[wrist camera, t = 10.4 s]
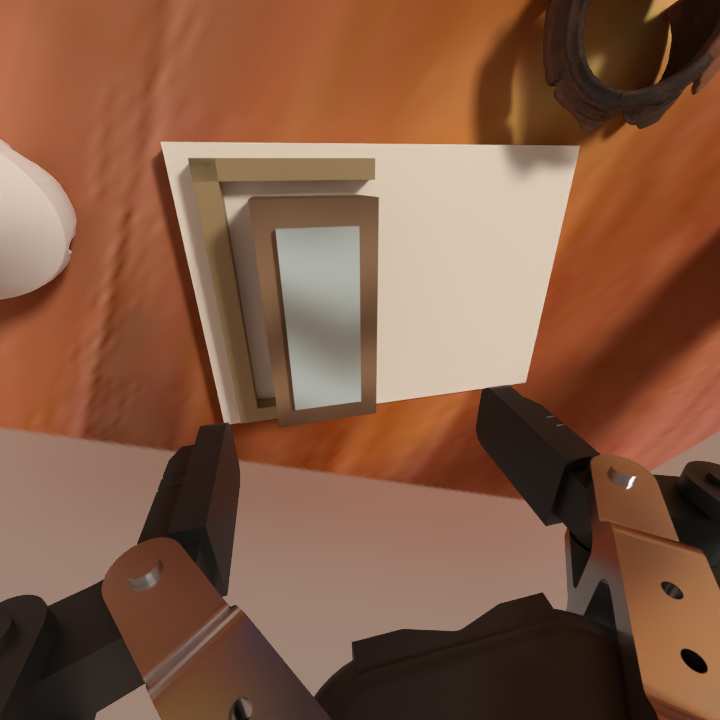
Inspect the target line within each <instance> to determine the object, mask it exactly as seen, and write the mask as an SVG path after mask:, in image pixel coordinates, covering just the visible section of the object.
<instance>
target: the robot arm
mask: <svg viewBox="0 0 720 720" xmlns="http://www.w3.org/2000/svg"><path fill="white" fill-rule="evenodd" d="M476 432H477V437H478V440H479V442H480V444H481V445H482V446H483V448H484V449H485V450H486V451H487V453H488V454H489V455H490V457H491V458H492V459H493V460H494V462H495V463H496V464H497V465H498V467H499V468H500V469H501V470H502V472H503V473H504V474H505V475H506V477H507V478H508V479H509V480H510V482H511V483H512V484H513V485H514V487H515V488H516V489H517V490H518V492H519V493H520V494H521V496H522V497H523V498H524V499H525V501H526V502H527V503H528V504H529V506H530V507H531V508H532V509H533V511H534V512H535V513H536V514H537V516H538V517H539V518H540V519H541V521H542V522H543V523H544V524H545V526H549V525H553V524H557V523H562V522H563V523H564V524H565V525H566V527H567V530H566V533H565V555H566V574H567V592H568V601H567V609H566V611H563V610H558V609H553V607H552V606H551V604H550V603H549V601H548V600H547V598H546V597H545V595H544V594H543V593H539V594H535V595H531V596H527V597H524V598H520V599H516V600H512V601H509V602H504V603H501V604H498V605H497V606H495V607H494V608H492V609H491V610H490V611H488V612H487V613H485V614H484V615H482V616H481V617H479V618H478V619H476V620H475V621H473V622H472V623H471V624H469V625H468V626H466V627H465V628H463V629H461V630H458V631H436V630H413V629H412V630H411V629H401V630H397V631H393V632H390V633H386V634H382V635H378V636H374V637H370V638H367V639H362V640H359V641H355V642H352V656H353V660H352V661H351V662H349V663H348V664H346V665H345V666H343V667H342V668H341V669H339V670H338V671H337V672H336V673H335V674H334V675H332V676H331V677H330V678H329V679H328V681H327V682H326V683H325V684H324V685H323V686H322V687H321V688H320V690H319V691H318V692H317V693H316V695H315V696H314V697H313V696H312V695H311V694H310V692H309V691H308V690H307V689H306V687H305V686H304V685H303V684H302V683H301V681H300V680H299V679H298V678H297V676H296V675H295V674H294V673H293V672H292V670H291V669H290V668H289V667H288V665H287V664H286V663H285V662H284V661H283V659H282V658H281V657H280V656H279V654H278V653H277V652H276V651H275V650H274V648H273V647H272V646H271V645H270V643H269V642H268V641H267V640H266V638H265V637H264V636H263V635H262V633H261V632H260V631H259V630H258V629H257V627H256V626H255V625H254V624H253V622H251V620H250V619H249V618H248V616H247V615H246V614H245V613H244V612H243V611H242V610H241V609H240V608H239V607H238V606H236V605H234V606H232V607H230V606H229V605H228V604H227V603H226V601H225V600H224V599H223V598H222V597H223V596H227V592H228V585H229V576H230V567H231V558H232V549H233V541H234V532H235V523H236V514H237V506H238V497H239V488H240V469H239V462H238V458H237V453H236V449H235V444H234V440H233V436H232V431H231V427H230V424H229V423H228V422H227V423H220V424H212V425H205V426H201V427H200V428H199V431H198V435H197V438H196V441H195V445H191V446H184V447H181V448H180V449H179V450H178V451H177V452H176V454H175V455H174V456H173V457H172V458H171V459H170V460H169V462H168V464H167V467H166V470H165V472H164V475H163V479H162V480H161V483H160V485H159V488H158V492H157V494H156V496H155V498H154V501H153V504H152V506H151V509H150V511H149V514H148V517H147V520H146V522H145V525H144V528H143V530H142V532H141V535H140V538H139V541H138V543H137V545H135V546H134V547H132V548H130V549H129V550H128V551H126V552H125V553H124V554H123V555H121V556H120V557H119V558H118V559H117V560H116V561H115V563H113V565H112V566H111V567H110V569H109V570H108V572H107V574H106V575H105V578H104V579H103V580H102V581H100V582H98V583H97V584H95V585H93V586H91V587H88V588H86V589H84V590H82V591H80V592H78V593H75V594H73V595H71V596H69V597H67V598H65V599H62V600H60V601H58V602H56V603H54V604H52V605H49V606H47V604H46V603H45V602H44V601H43V599H42V598H40V597H38V596H35V595H21V596H16V597H13V598H10V599H7V600H5V601H2V602H0V720H95V716H96V713H97V712H98V711H100V710H102V709H103V708H105V707H107V706H108V705H110V704H112V703H113V702H115V701H117V700H118V699H120V698H122V697H123V696H125V695H126V694H128V693H130V692H132V691H133V690H135V689H136V688H138V687H140V686H141V685H143V684H146V689H147V691H148V693H149V696H150V698H151V700H152V702H153V704H154V706H155V708H156V710H157V712H158V714H159V716H160V718H161V720H720V465H718V464H715V463H711V462H705V461H693V462H690V463H688V464H687V465H686V466H685V468H684V470H683V472H682V474H681V476H680V477H676V476H664V475H652V474H651V473H650V472H649V471H648V470H647V469H646V468H644V467H643V466H641V465H640V464H638V463H636V462H634V461H632V460H630V459H627V458H624V457H621V456H617V455H610V454H602V455H601V454H600V453H598V452H597V451H596V450H595V449H594V448H592V447H591V446H590V445H589V444H588V443H586V442H585V441H584V440H583V439H581V438H580V437H579V436H578V435H577V434H575V433H574V432H573V431H572V430H571V429H569V428H568V427H567V426H564V425H563V423H562V422H561V421H560V420H559V419H557V418H556V417H553V415H552V414H551V413H550V412H549V411H548V410H546V409H545V408H544V407H543V406H542V405H540V404H538V403H536V402H534V401H532V400H529V399H527V398H524V397H523V396H521V395H520V394H519V393H518V392H517V391H516V390H514V389H513V388H512V387H511V386H509V385H502V386H495V387H488V388H484V389H483V391H482V394H481V399H480V406H479V412H478V418H477V424H476Z"/></svg>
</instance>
